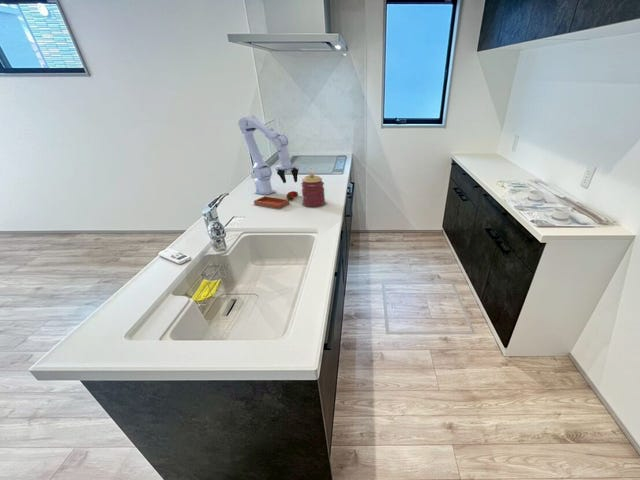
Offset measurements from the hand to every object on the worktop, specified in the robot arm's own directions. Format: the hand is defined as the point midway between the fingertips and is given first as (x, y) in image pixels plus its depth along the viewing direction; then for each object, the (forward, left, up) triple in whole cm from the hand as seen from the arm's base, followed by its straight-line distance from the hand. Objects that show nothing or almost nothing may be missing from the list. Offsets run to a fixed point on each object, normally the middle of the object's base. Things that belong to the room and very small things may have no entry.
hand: (290, 182), depth 187 cm
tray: (-4, -14, -10) cm, 18 cm away
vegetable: (0, 0, -10) cm, 10 cm away
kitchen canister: (+18, -3, -10) cm, 21 cm away
